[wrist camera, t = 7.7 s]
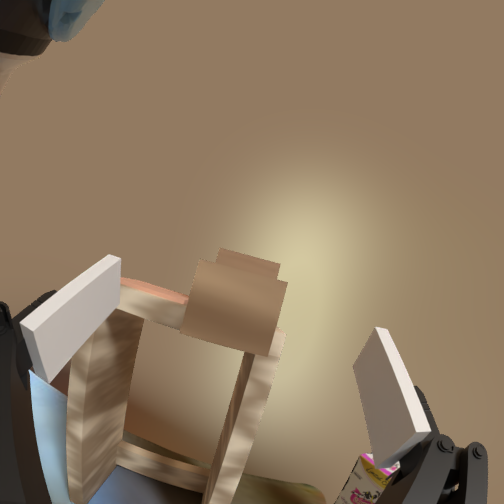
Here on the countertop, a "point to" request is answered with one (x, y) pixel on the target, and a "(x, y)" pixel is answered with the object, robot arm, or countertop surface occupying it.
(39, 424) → the countertop surface
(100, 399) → the wooden open frame
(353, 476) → the candy bar box
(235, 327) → the mallet
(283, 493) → the countertop surface
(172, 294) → the mat
